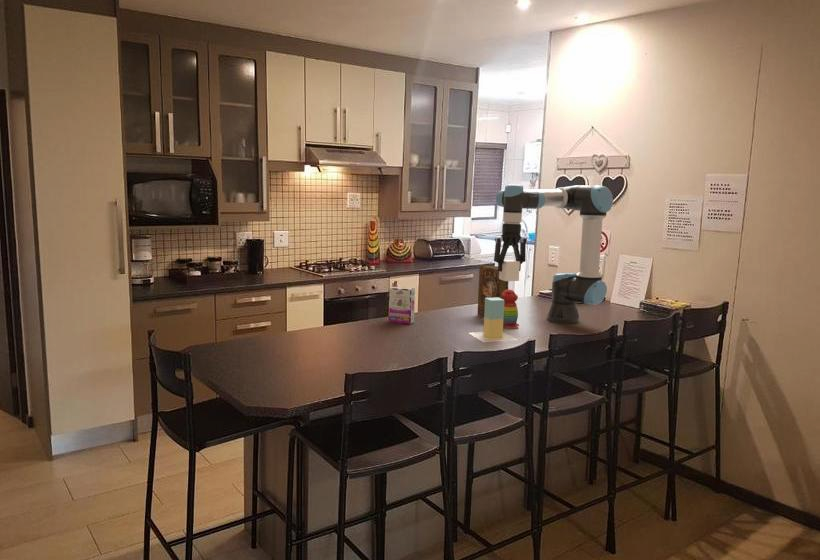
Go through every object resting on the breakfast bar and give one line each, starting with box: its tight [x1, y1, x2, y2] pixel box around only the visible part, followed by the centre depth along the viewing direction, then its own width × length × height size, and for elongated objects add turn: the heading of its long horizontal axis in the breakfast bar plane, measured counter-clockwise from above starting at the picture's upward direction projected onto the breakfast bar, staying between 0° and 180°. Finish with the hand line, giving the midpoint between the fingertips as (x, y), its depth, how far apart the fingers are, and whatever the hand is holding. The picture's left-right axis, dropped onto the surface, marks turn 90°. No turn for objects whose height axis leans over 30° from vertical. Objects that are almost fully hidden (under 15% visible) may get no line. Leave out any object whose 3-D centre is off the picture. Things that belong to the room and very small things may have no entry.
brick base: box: [483, 317, 504, 339], centre depth 254 cm, size 6×6×8 cm
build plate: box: [468, 331, 519, 343], centre depth 255 cm, size 16×16×1 cm
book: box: [476, 264, 510, 318], centre depth 294 cm, size 16×6×25 cm, turn 34°
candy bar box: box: [388, 286, 416, 325], centre depth 280 cm, size 11×5×16 cm, turn 68°
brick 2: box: [499, 259, 520, 282], centre depth 250 cm, size 6×6×8 cm
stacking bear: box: [501, 288, 520, 330], centre depth 273 cm, size 11×10×18 cm
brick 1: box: [483, 297, 504, 320], centre depth 253 cm, size 6×6×8 cm
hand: (508, 279), depth 250 cm, fingers closed on brick 2, 6 cm apart
